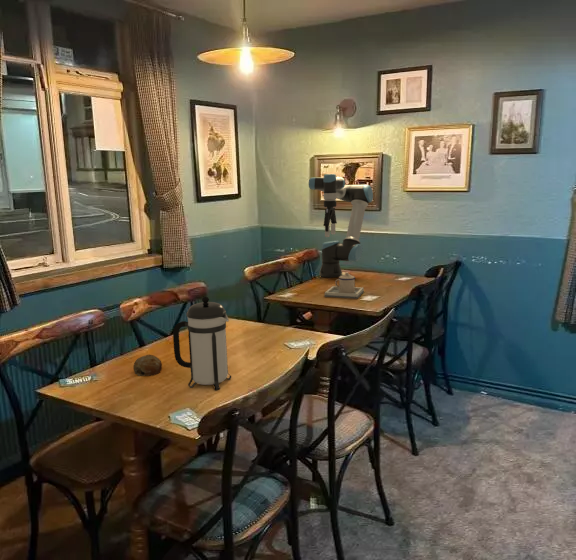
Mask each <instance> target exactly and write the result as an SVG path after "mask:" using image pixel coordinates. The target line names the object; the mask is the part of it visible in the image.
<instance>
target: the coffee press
mask: <svg viewBox="0 0 576 560" xmlns="http://www.w3.org/2000/svg"><path fill="white" fill-rule="evenodd" d="M209 300H210V298H209V296H203V297H202V298H201V301H202V302H197V303H194V304H192V305H190V306H189V308H188V310H187V312H186V318H187V320H184V321H180V322H178V323H177V324H176V325H175V326H174V328H173V331H172V341H173V352H174V358H175V361H176V362H177V363H178V365H179V366H180V367H183V368H187V369H190V380H189V382H188V383H187V385H188V387H189V389H193V388H194V387H195V386H196V385H197V384H198V385H204V386H205V385H206V386H208V385H209V386H211V385H213V389H214V391H218V390H219V391H220V389H221V388H220V386H221V385H220V383H222V382H224V381H225V380H229V381H230V380H231V379H232V375H230V373H229V370H228V368H229V367H228V353H227V352H228V349H227V348H228V347H227V329H226V328H227V323H228V322H229V321H230V320H229V317H228V315H227V310H226V309H225V308H224V306H223V305H222V304H221V303H218V302H214V301H209ZM185 327H187V331H188V347H189V349H188V350H189V361H185V360H184V359H183V358H182V356H181V348H180V347H181V345H180V343H181V342H180V330H181V329H182V328H185ZM228 375H229V377H228ZM192 382H193V383H192Z"/></svg>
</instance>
